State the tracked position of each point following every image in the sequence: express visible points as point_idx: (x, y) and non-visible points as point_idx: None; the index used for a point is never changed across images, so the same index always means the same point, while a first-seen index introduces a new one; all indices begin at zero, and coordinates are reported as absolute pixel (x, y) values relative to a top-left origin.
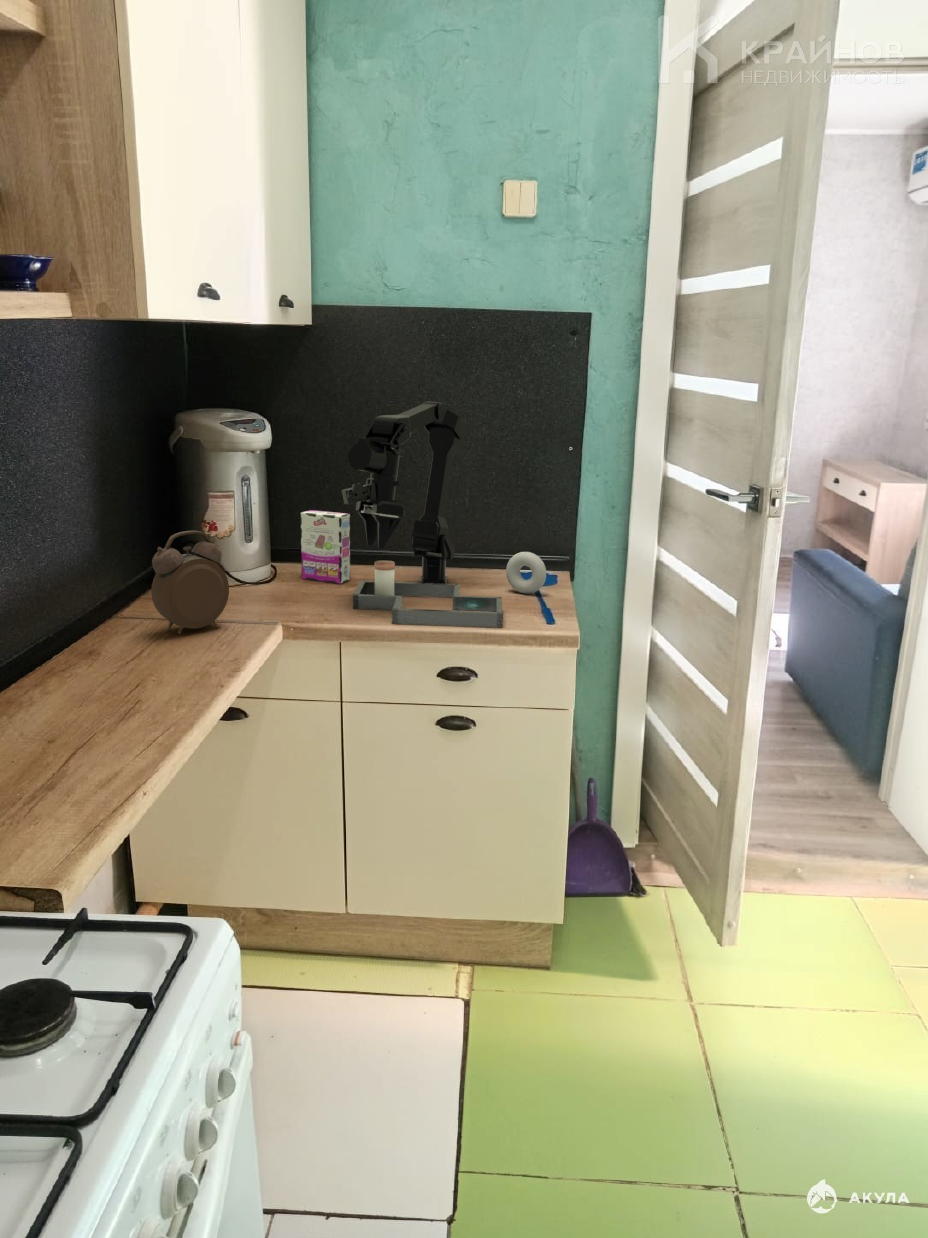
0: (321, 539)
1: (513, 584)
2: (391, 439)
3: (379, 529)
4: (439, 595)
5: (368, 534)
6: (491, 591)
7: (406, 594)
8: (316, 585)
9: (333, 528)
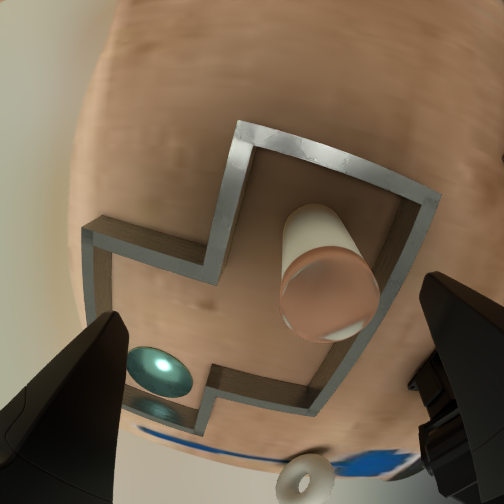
0: None
1: (308, 460)
2: None
3: (6, 406)
4: (321, 368)
5: (472, 324)
6: (332, 432)
7: None
8: (500, 93)
9: None
